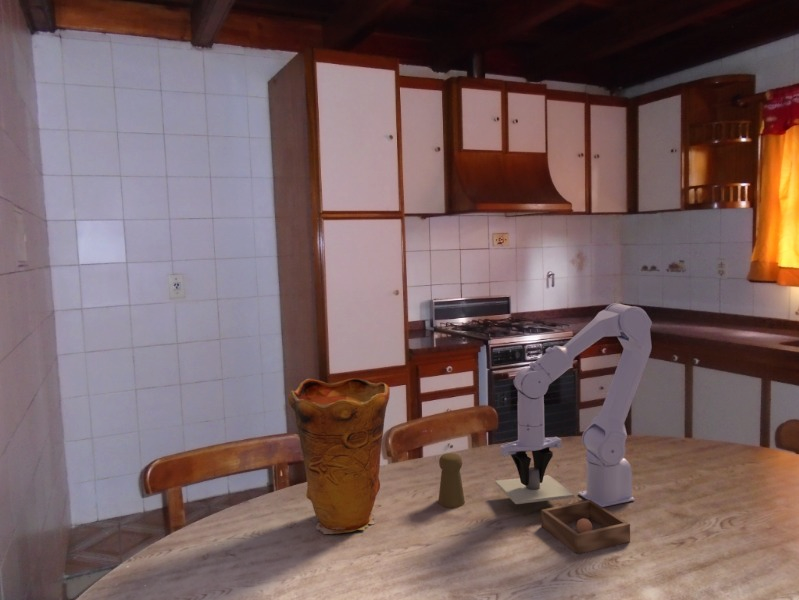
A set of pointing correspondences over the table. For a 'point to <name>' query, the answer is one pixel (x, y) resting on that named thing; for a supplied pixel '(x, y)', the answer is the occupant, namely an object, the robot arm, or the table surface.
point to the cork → (451, 481)
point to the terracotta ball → (584, 525)
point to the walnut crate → (591, 540)
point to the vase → (341, 448)
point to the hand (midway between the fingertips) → (531, 482)
